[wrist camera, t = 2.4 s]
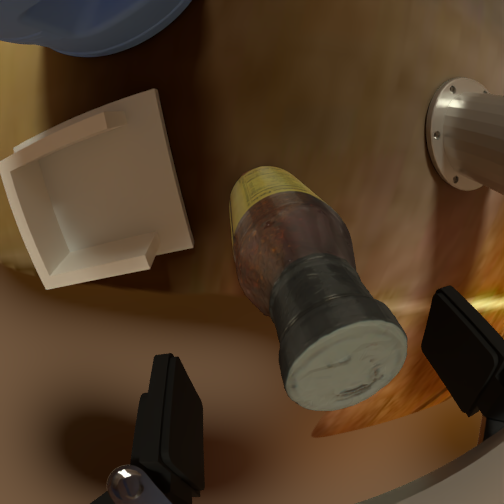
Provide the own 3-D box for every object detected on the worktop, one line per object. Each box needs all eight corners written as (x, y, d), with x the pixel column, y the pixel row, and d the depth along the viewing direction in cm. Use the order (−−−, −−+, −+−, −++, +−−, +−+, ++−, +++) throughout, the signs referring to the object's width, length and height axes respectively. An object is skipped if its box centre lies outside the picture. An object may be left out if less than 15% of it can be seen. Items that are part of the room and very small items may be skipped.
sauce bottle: (289, 235, 28) (377, 429, 10) (222, 224, 27) (227, 438, 9) (308, 167, 25) (468, 306, 7) (237, 152, 24) (278, 287, 6)
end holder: (157, 89, 21) (138, 84, 16) (194, 242, 27) (188, 274, 22) (20, 145, 21) (-16, 157, 16) (63, 270, 27) (40, 301, 22)
